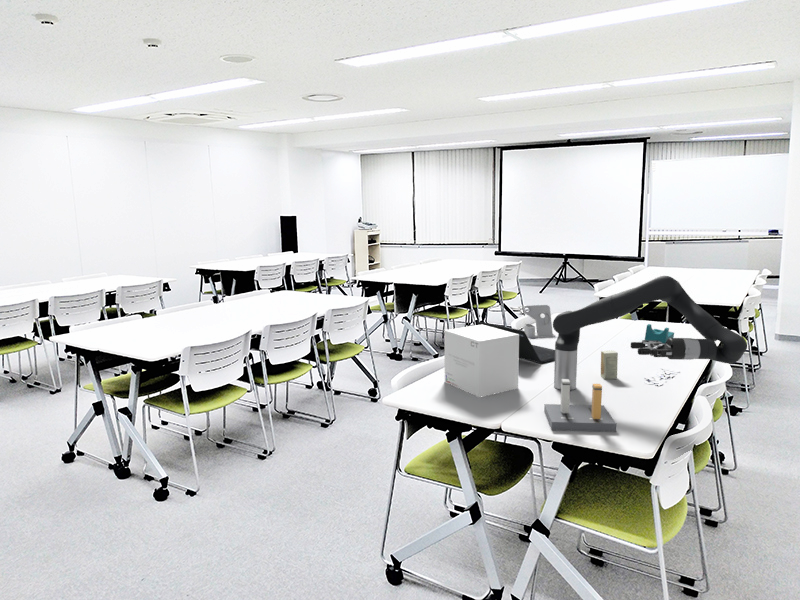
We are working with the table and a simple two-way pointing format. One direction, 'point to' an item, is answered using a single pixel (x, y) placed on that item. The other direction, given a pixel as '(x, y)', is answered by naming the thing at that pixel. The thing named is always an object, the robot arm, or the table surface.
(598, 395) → the amber fader
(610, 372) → the skincare box
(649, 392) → the table surface
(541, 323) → the phone holder
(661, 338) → the teal cradle stand
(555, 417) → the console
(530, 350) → the laptop
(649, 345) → the robot arm
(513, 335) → the cube
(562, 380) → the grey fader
